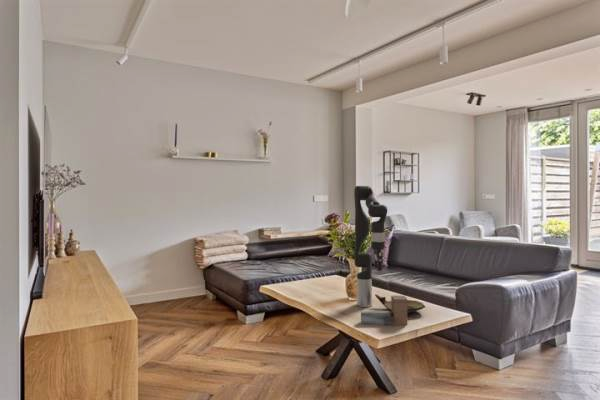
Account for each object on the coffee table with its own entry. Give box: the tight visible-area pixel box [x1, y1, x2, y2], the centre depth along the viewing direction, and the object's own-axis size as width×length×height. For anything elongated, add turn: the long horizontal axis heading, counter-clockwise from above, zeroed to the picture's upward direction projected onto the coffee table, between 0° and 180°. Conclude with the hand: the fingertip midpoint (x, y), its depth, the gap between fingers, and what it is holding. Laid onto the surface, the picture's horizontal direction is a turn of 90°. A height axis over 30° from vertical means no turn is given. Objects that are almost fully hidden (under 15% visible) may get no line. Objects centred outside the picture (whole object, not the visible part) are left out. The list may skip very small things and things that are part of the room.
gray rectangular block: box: [360, 310, 392, 325], centre depth 215 cm, size 4×16×6 cm, turn 89°
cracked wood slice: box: [374, 294, 426, 314], centre depth 237 cm, size 22×30×8 cm
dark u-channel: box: [384, 295, 408, 326], centre depth 215 cm, size 8×12×14 cm, turn 89°
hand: (378, 269), depth 221 cm, fingers open, 8 cm apart
